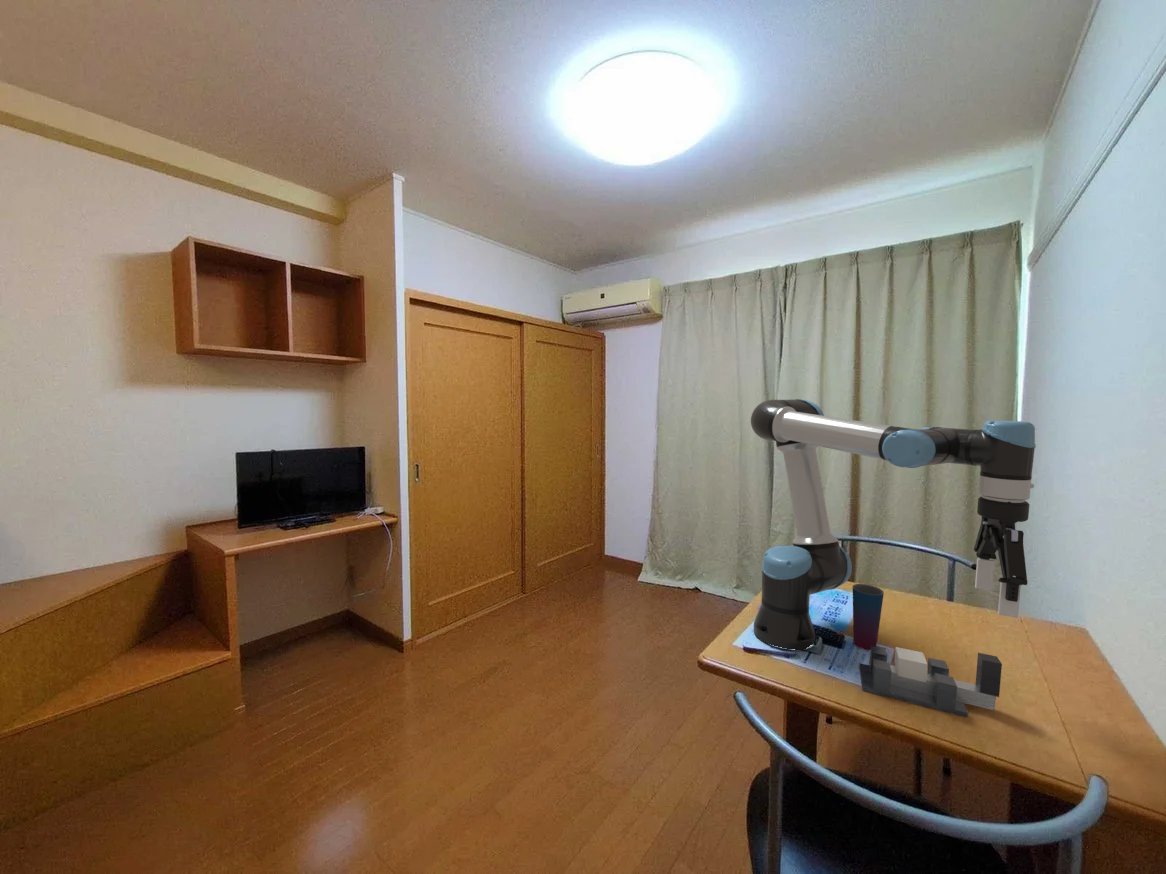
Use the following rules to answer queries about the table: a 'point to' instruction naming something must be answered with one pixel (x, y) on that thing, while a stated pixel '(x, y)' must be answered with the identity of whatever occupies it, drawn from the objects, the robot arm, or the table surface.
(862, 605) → the cup
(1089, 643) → the table surface
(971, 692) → the sliding bolt
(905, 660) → the block
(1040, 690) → the table surface
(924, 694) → the rail
